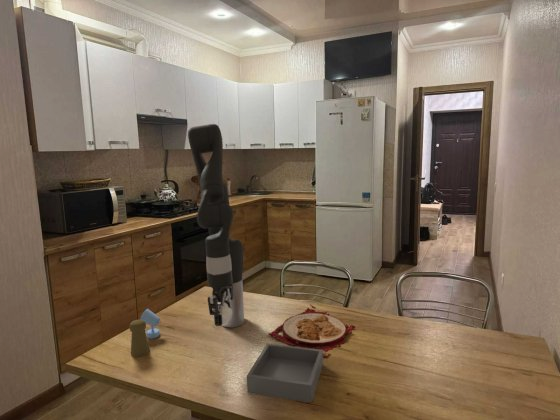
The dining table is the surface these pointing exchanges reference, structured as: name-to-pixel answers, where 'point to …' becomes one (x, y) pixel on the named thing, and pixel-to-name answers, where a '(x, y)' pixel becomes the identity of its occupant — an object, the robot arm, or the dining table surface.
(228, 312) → the white ribbed rounded piece
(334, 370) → the dining table surface
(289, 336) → the plate with food
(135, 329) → the olive pepper mill
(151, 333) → the spotlight
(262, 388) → the serving bin
